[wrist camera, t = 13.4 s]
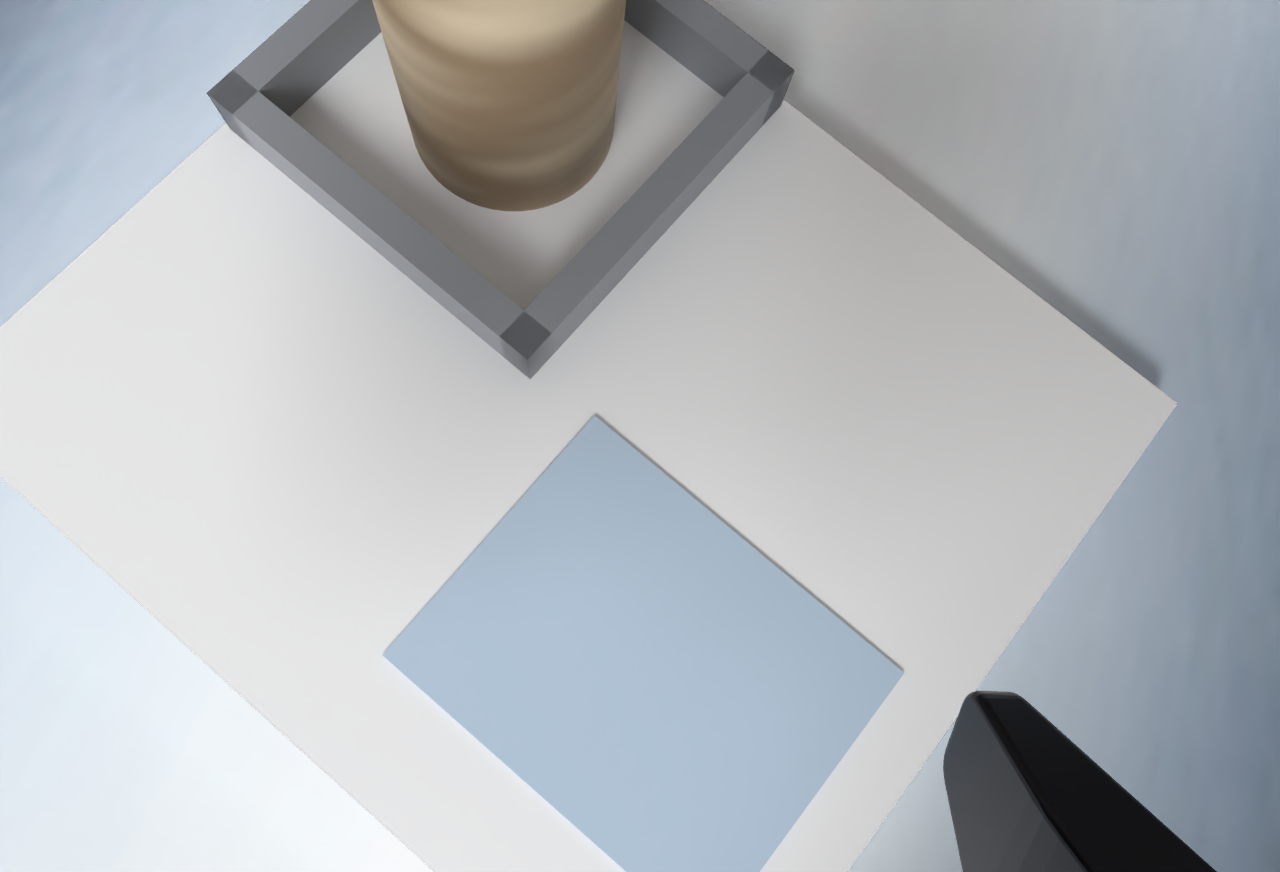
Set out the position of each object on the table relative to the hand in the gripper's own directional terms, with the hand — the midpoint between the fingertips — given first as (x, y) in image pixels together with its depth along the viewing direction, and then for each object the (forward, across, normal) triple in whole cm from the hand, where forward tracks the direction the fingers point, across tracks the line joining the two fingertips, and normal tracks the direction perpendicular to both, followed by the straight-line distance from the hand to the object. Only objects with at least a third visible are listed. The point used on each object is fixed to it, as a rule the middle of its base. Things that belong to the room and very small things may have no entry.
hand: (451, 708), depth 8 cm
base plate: (+14, -1, +5) cm, 15 cm away
